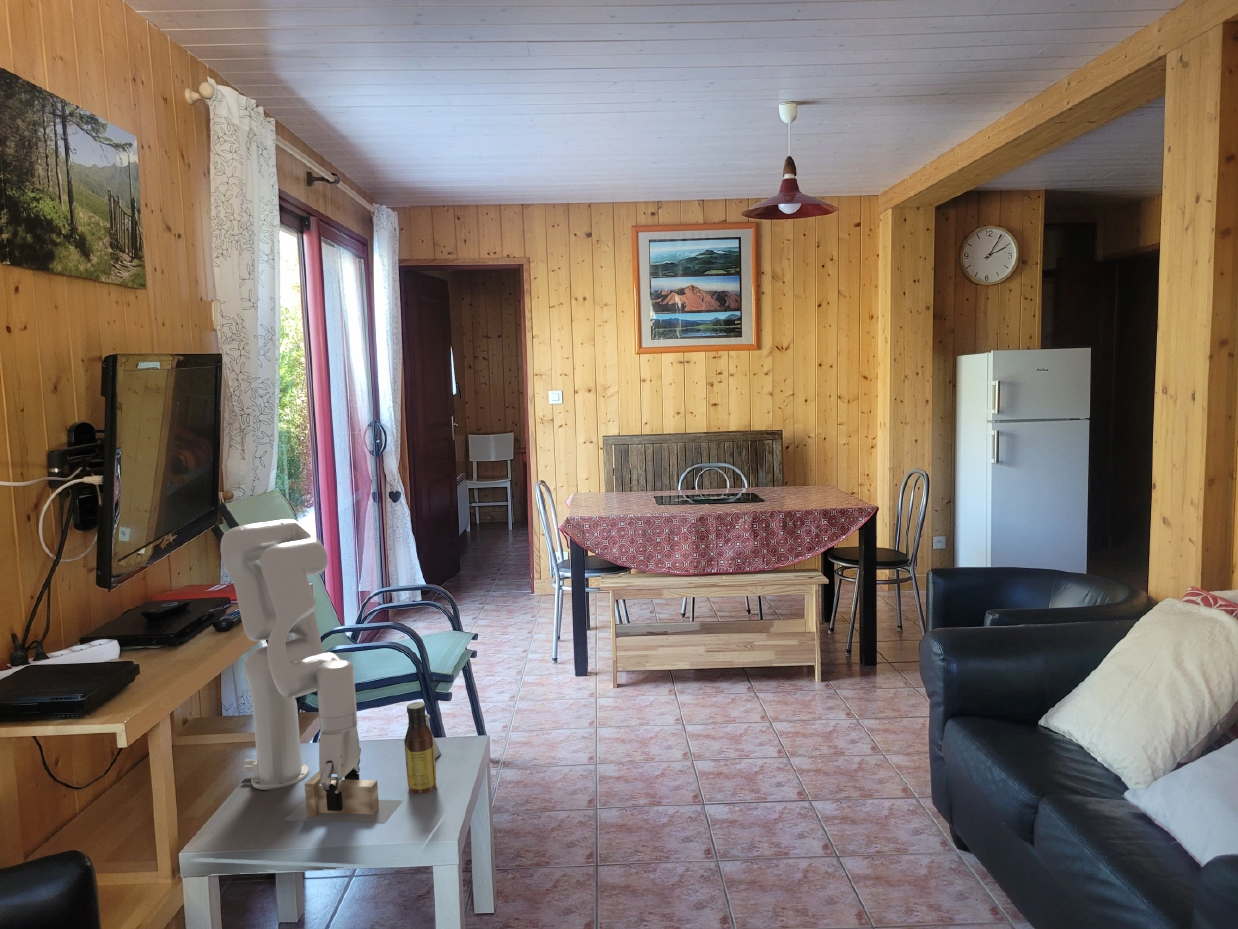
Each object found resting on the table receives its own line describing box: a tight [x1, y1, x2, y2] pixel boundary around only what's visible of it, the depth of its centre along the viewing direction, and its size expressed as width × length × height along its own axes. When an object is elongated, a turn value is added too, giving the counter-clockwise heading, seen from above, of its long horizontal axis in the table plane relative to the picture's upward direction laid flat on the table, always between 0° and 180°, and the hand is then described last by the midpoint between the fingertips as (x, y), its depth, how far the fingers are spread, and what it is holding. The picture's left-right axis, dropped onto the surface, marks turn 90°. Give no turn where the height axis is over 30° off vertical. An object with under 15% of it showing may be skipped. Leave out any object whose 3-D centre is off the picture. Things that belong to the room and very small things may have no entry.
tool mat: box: [284, 799, 404, 824], centre depth 185 cm, size 22×10×1 cm, turn 82°
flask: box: [425, 713, 442, 759], centre depth 212 cm, size 7×7×10 cm
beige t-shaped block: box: [304, 771, 380, 816], centre depth 185 cm, size 14×6×7 cm, turn 82°
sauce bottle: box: [403, 701, 437, 795], centre depth 193 cm, size 7×6×20 cm
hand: (344, 800), depth 185 cm, fingers open, 7 cm apart
